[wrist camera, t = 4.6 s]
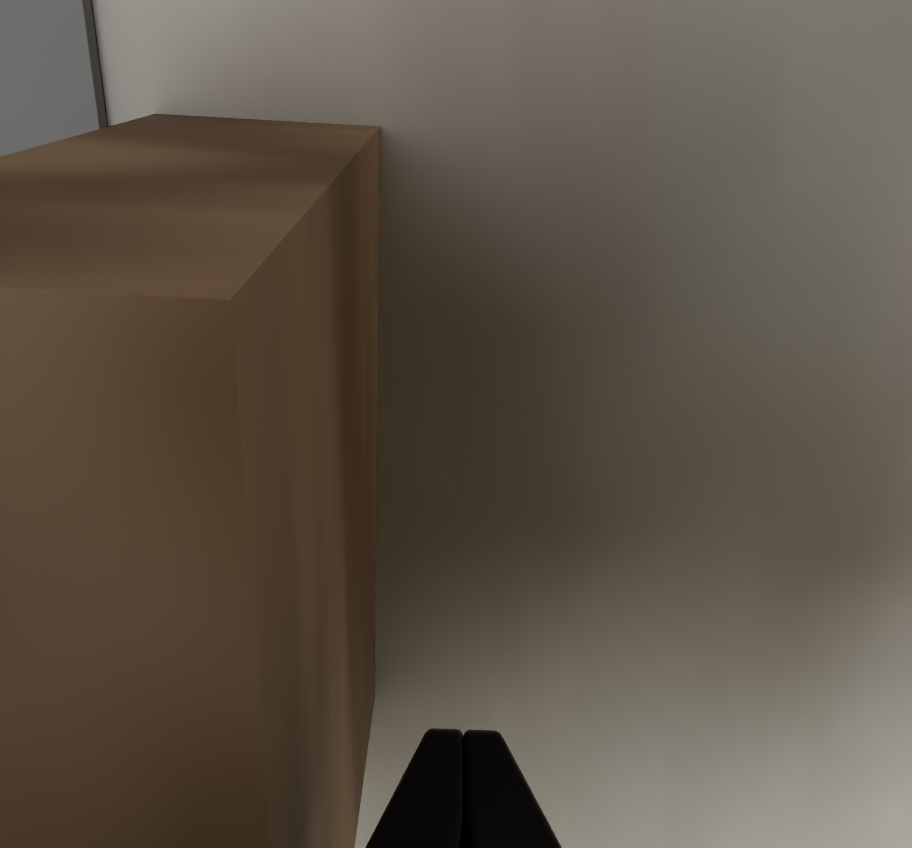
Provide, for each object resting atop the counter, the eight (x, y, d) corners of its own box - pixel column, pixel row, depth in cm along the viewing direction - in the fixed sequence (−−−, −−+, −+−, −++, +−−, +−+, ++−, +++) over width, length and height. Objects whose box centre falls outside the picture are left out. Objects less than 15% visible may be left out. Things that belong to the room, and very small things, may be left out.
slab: (380, 126, 13) (231, 300, 5) (374, 697, 18) (300, 1246, 10) (156, 113, 13) (-400, 266, 4) (216, 689, 18) (11, 1236, 10)
